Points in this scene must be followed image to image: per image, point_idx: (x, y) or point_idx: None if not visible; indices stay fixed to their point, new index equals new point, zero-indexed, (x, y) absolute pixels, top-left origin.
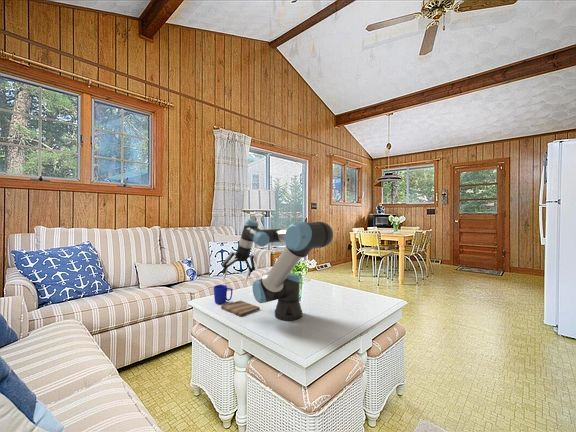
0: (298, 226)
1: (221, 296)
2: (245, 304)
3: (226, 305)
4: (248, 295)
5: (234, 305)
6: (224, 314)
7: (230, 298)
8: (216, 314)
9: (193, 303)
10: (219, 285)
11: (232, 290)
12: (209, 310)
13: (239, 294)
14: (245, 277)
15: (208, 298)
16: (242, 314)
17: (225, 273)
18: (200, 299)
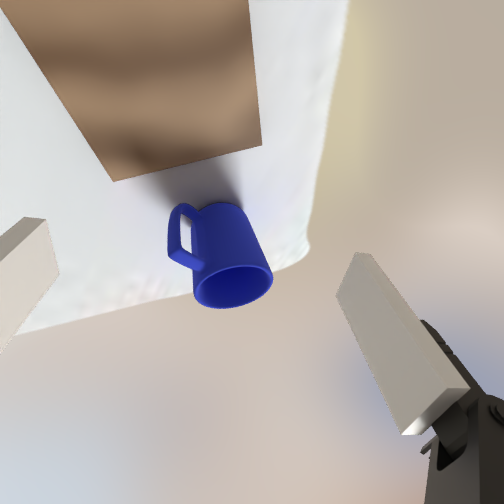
0: None
1: (233, 227)
2: (88, 77)
3: (230, 138)
4: None
5: (183, 107)
6: (297, 9)
7: (179, 206)
8: (332, 52)
9: (309, 246)
10: (225, 305)
11: (168, 245)
12: (316, 144)
13: (90, 277)
14: (37, 283)
15: None
16: None
17: (413, 312)
18: None
